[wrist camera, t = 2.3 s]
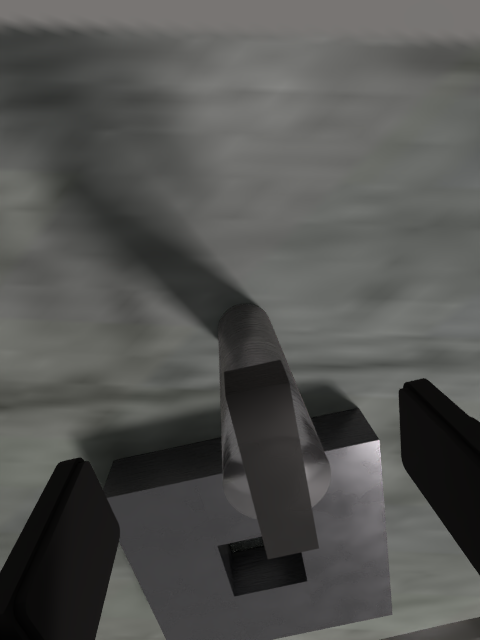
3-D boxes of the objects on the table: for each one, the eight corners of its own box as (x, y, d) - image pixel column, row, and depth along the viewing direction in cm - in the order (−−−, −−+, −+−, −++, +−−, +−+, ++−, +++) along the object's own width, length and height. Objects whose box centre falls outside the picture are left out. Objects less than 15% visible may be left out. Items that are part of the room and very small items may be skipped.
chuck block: (358, 408, 22) (379, 439, 20) (374, 572, 28) (392, 614, 25) (113, 460, 23) (99, 499, 20) (179, 612, 28) (175, 659, 26)
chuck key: (261, 272, 19) (317, 376, 9) (279, 368, 21) (341, 543, 11) (206, 284, 19) (197, 402, 9) (230, 379, 21) (245, 564, 11)
